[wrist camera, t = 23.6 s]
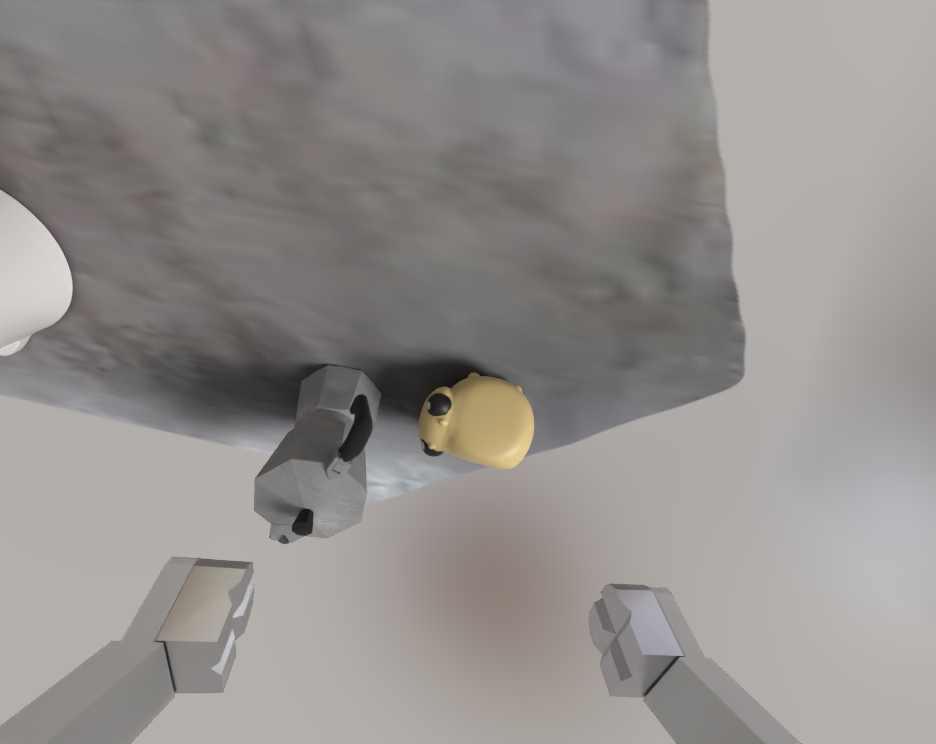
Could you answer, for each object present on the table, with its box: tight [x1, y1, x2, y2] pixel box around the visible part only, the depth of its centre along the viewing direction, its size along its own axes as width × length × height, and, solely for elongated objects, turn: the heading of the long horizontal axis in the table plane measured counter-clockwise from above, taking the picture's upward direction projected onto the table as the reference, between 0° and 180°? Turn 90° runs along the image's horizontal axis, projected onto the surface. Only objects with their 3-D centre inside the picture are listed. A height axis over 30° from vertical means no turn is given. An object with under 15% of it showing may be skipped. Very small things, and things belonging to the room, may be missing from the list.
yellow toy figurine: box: [418, 372, 534, 469], centre depth 45 cm, size 10×12×11 cm
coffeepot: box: [254, 365, 381, 544], centre depth 40 cm, size 15×9×18 cm, turn 143°
